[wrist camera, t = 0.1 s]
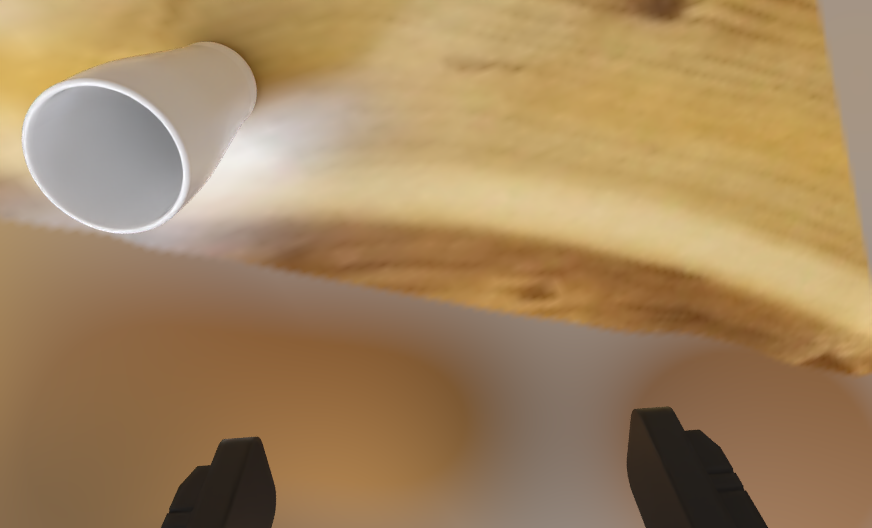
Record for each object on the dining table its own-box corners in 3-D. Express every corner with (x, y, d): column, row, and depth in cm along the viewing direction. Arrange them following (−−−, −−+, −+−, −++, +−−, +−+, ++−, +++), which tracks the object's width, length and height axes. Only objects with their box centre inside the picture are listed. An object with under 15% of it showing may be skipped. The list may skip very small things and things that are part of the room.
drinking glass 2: (138, 52, 37) (-21, 115, 23) (236, 8, 36) (127, 48, 22) (198, 152, 40) (87, 258, 26) (290, 114, 39) (222, 204, 25)
